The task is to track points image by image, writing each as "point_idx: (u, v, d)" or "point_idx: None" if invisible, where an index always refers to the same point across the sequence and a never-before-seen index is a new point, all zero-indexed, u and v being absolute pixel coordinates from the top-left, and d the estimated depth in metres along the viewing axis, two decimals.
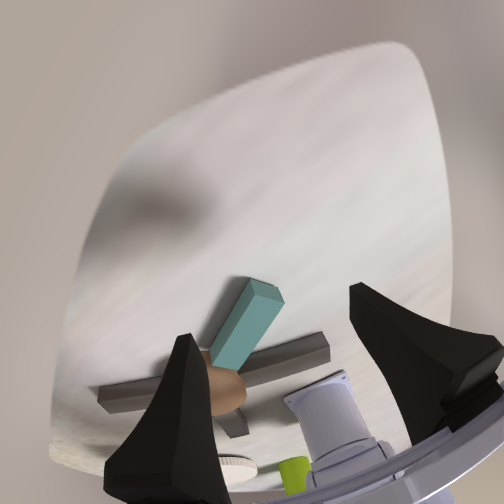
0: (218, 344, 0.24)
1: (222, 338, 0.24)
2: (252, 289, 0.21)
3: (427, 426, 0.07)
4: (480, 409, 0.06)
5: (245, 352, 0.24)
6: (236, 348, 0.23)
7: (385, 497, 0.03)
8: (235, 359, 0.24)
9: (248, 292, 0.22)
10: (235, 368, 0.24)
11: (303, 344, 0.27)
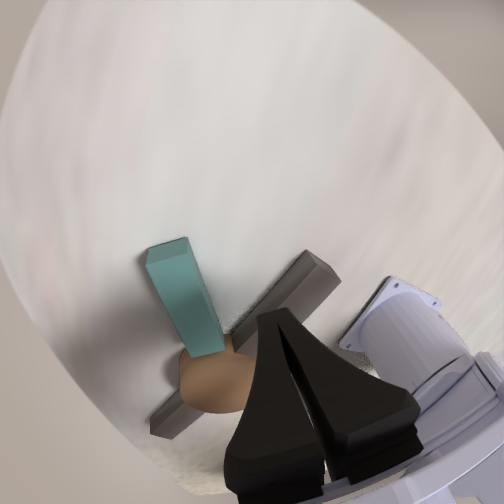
0: None
1: None
2: (147, 260, 0.16)
3: (333, 469, 0.07)
4: (386, 466, 0.06)
5: (209, 328, 0.19)
6: (194, 329, 0.19)
7: (385, 497, 0.03)
8: (207, 340, 0.19)
9: None
10: (219, 349, 0.20)
11: (289, 279, 0.20)
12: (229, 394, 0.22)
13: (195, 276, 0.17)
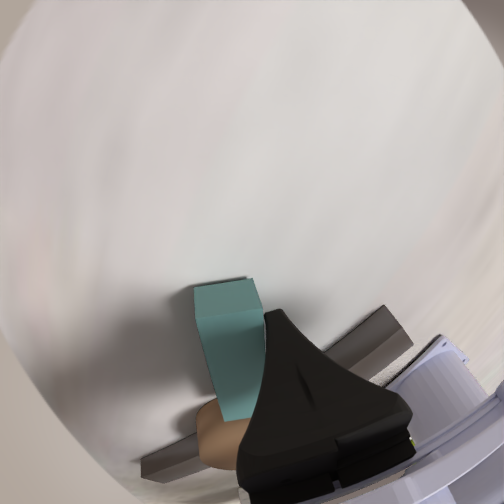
0: None
1: None
2: None
3: None
4: (378, 469, 0.06)
5: (258, 393, 0.14)
6: (239, 395, 0.13)
7: (385, 497, 0.03)
8: (251, 405, 0.14)
9: None
10: None
11: (361, 337, 0.15)
12: None
13: (263, 337, 0.12)
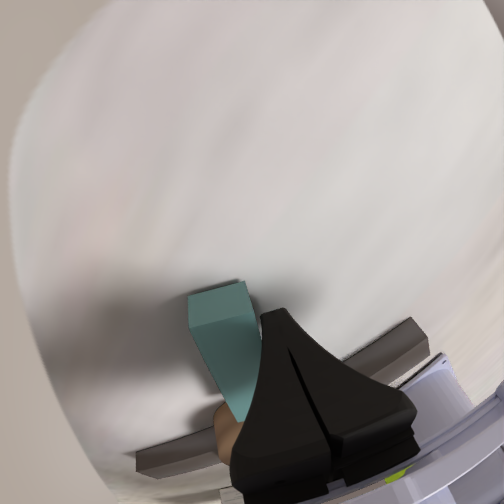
0: None
1: None
2: (189, 316, 0.11)
3: (329, 471, 0.07)
4: (383, 467, 0.06)
5: None
6: (247, 396, 0.14)
7: (385, 497, 0.03)
8: None
9: None
10: None
11: (389, 344, 0.16)
12: None
13: (260, 339, 0.12)
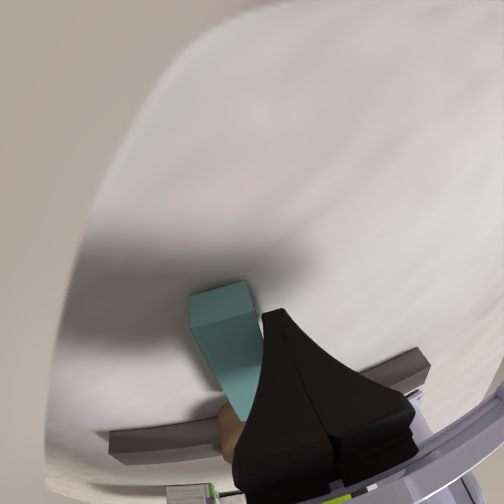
0: None
1: None
2: (190, 317, 0.11)
3: None
4: (381, 468, 0.06)
5: None
6: (250, 395, 0.14)
7: (385, 497, 0.03)
8: None
9: None
10: None
11: (399, 366, 0.18)
12: None
13: (262, 338, 0.12)
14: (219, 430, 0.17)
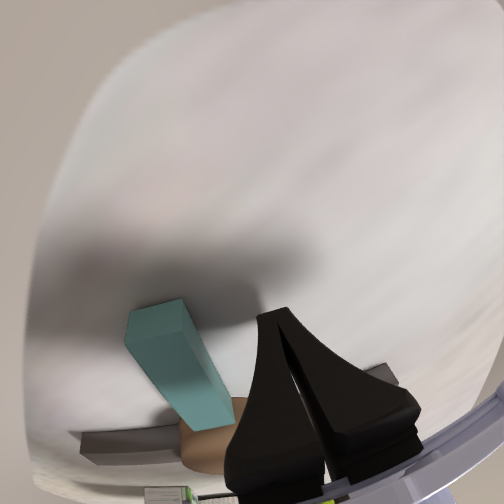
0: None
1: None
2: (127, 332, 0.11)
3: (333, 469, 0.07)
4: (387, 465, 0.06)
5: (215, 406, 0.14)
6: (196, 407, 0.13)
7: (385, 497, 0.03)
8: (213, 416, 0.14)
9: None
10: (228, 423, 0.15)
11: None
12: None
13: (195, 355, 0.12)
14: (179, 437, 0.17)
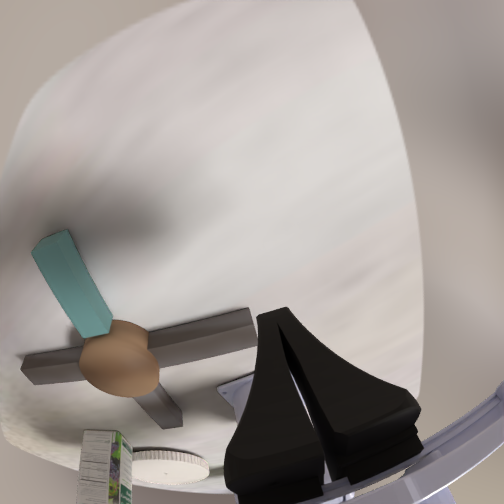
0: None
1: None
2: (35, 248, 0.16)
3: (333, 469, 0.07)
4: (386, 465, 0.06)
5: (88, 311, 0.19)
6: (77, 311, 0.19)
7: (385, 497, 0.03)
8: (91, 322, 0.19)
9: None
10: (103, 332, 0.20)
11: (224, 320, 0.23)
12: (119, 378, 0.22)
13: (67, 262, 0.17)
14: None
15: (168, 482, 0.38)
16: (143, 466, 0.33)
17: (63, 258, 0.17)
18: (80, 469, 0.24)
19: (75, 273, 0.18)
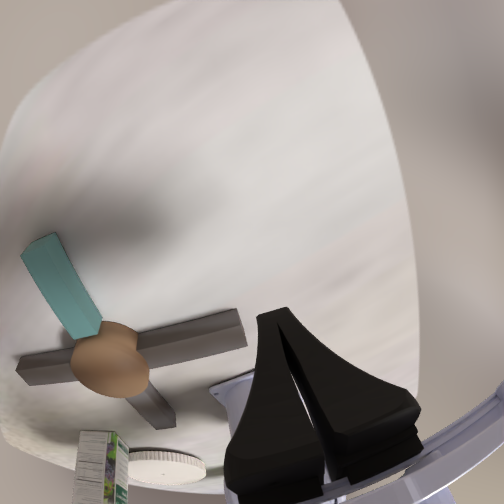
0: None
1: None
2: (25, 251, 0.16)
3: (333, 469, 0.07)
4: (387, 465, 0.06)
5: (77, 312, 0.19)
6: (67, 313, 0.19)
7: (385, 497, 0.03)
8: (80, 324, 0.19)
9: None
10: (92, 333, 0.20)
11: (211, 321, 0.23)
12: (110, 379, 0.22)
13: (54, 265, 0.17)
14: None
15: (166, 482, 0.38)
16: (139, 466, 0.33)
17: (51, 261, 0.16)
18: (76, 469, 0.24)
19: (63, 275, 0.17)
